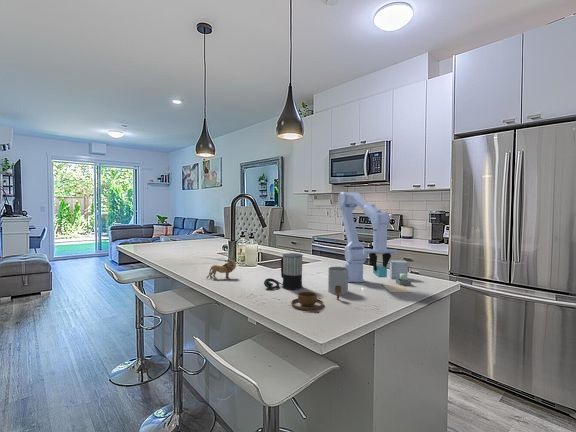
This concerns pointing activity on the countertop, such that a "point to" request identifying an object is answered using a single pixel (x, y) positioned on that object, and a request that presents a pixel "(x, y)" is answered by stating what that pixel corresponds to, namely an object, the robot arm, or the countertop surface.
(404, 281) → the button housing
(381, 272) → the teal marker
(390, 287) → the kraft paper
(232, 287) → the countertop surface
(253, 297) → the countertop surface
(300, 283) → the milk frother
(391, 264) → the medicine box
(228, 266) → the lion figurine
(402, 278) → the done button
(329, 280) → the cup
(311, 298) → the place setting
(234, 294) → the countertop surface
